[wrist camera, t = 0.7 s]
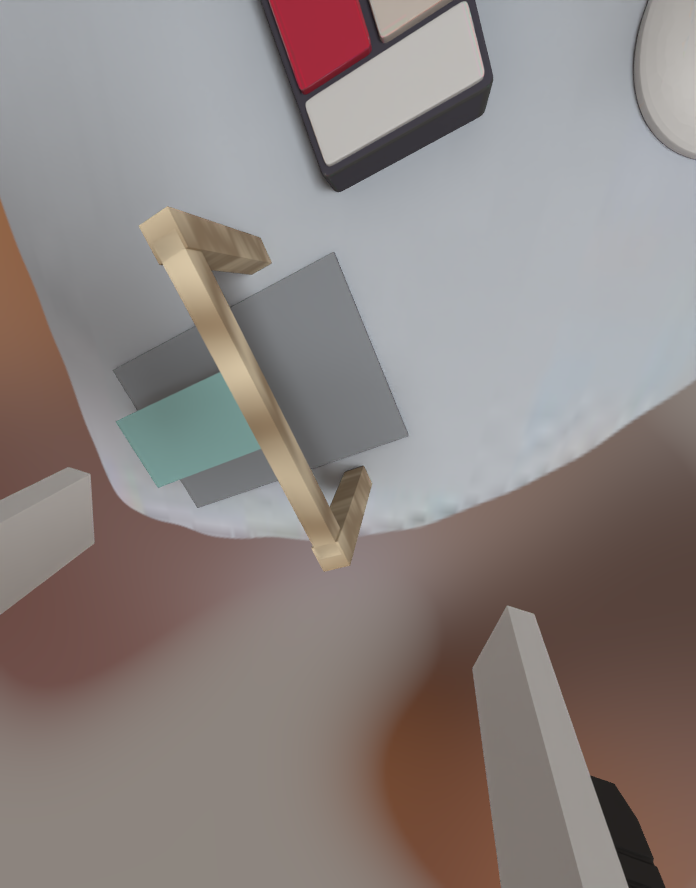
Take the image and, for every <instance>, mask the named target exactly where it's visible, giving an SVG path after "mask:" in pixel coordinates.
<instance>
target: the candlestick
mask: <svg viewBox="0 0 696 888" xmlns="http://www.w3.org/2000/svg"><path fill="white" fill-rule="evenodd" d="M634 83H635V90H636V96H637V101H638V104H639V107H640V110H641V113H642V115H643V118H644V119H645V121H646V123H647V125H648V126H649V128H650V129H651V131H652V132H653V134H654V135H655V136H656V137H657V138H658V139H659V140H660V141H661V142H662V143H663V144H664V145H666V146H667V147H669V148H670V149H672V150H673V151H675V152H677V153H679V154H681V155H683V156H686V157H689V158H692V159H696V0H649V1H648V4H647V6H646V9H645V12H644V15H643V18H642V22H641V25H640V29H639V33H638V37H637V43H636V49H635V59H634Z"/></svg>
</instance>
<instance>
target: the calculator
mask: <svg viewBox="0 0 696 888" xmlns="http://www.w3.org/2000/svg"><path fill="white" fill-rule="evenodd" d="M261 2H262V5H263V8H264V11H265V14H266V17H267V19H268V22H269V25H270V28H271V31H272V34H273V36H274V39H275V42H276V45H277V48H278V51H279V53H280V56H281V59H282V62H283V65H284V68H285V70H286V73H287V76H288V79H289V82H290V85H291V87H292V90H293V93H294V96H295V99H296V102H297V104H298V107H299V110H300V113H301V116H302V118H303V121H304V124H305V127H306V130H307V133H308V135H309V138H310V141H311V144H312V147H313V150H314V152H315V155H316V158H317V161H318V164H319V167H320V169H321V172H322V174H323V176H324V177H325V178H326V180H327V181H328V182H329V184H330V185H331V186H332V188H333V189H334V190H335V191H336V192H341V191H343V190H345V189H347V188H349V187H351V186H353V185H355V184H356V183H358V182H360V181H362V180H364V179H366V178H367V177H369V176H371V175H373V174H375V173H377V172H379V171H380V170H382V169H384V168H386V167H388V166H390V165H392V164H393V163H395V162H397V161H399V160H401V159H403V158H404V157H406V156H408V155H410V154H412V153H414V152H416V151H417V150H419V149H421V148H423V147H425V146H427V145H428V144H430V143H432V142H434V141H436V140H438V139H440V138H441V137H443V136H445V135H447V134H449V133H451V132H452V131H454V130H456V129H458V128H460V127H462V126H464V125H465V124H467V123H469V122H471V121H473V120H475V119H476V118H478V117H480V116H481V115H482V114H483V113H484V111H485V108H486V105H487V101H488V97H489V94H490V90H491V86H492V82H493V74H492V69H491V65H490V61H489V57H488V52H487V48H486V44H485V40H484V36H483V32H482V27H481V23H480V19H479V15H478V11H477V7H476V2H475V0H261Z"/></svg>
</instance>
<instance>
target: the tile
mask: <svg viewBox="0 0 696 888" xmlns="http://www.w3.org/2000/svg"><path fill="white" fill-rule="evenodd" d="M116 423H117V425H118V426H119V428H120V429H121V431H122V432H123V434H124V436H125V437H126V439H127V440H128V442H129V443H130V445H131V446H132V448H133V450H134V451H135V453H136V454H137V456H138V457H139V459H140V461H141V462H142V464H143V465H144V467H145V468H146V470H147V471H148V473H149V475H150V476H151V478H152V479H153V481H154V482H155V484H156V486H157V487H158V488H159V487H162V486H164V485H167V484H169V483H172V482H175V481H177V480H180V479H183V478H185V477H188V476H191V475H193V474H196V473H199V472H201V471H204V470H206V469H209V468H212V467H214V466H217V465H220V464H222V463H225V462H228V461H230V460H233V459H236V458H238V457H241V456H243V455H246V454H249V453H251V452H254V451H257V450H259V449H261V447H260V445H259V444H258V442H257V440H256V438H255V436H254V434H253V432H252V430H251V429H250V427H249V425H248V423H247V421H246V419H245V417H244V415H243V414H242V412H241V410H240V408H239V406H238V404H237V402H236V400H235V399H234V397H233V395H232V393H231V391H230V389H229V387H228V385H227V384H226V382H225V380H224V378H223V376H222V374H221V372H219V373H217V374H215V375H213V376H211V377H208V378H206V379H204V380H202V381H200V382H198V383H196V384H194V385H192V386H189V387H187V388H185V389H183V390H181V391H179V392H177V393H175V394H173V395H170V396H168V397H166V398H164V399H162V400H160V401H158V402H156V403H154V404H151V405H149V406H147V407H145V408H143V409H141V410H139V411H137V412H135V413H132V414H130V415H128V416H126V417H124V418H122V419H120V420H118V421H116Z"/></svg>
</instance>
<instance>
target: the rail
mask: <svg viewBox="0 0 696 888" xmlns="http://www.w3.org/2000/svg"><path fill="white" fill-rule="evenodd" d="M139 227H140V229H141V231H142V233H143V235H144V237H145V239H146V241H147V242H148V244H149V246H150V248H151V250H152V252H153V254H154V255H155V257H156V259H157V261H158V263H159V265H164V267H165V269H166V271H167V273H168V275H169V277H170V278H171V280H172V282H173V284H174V286H175V288H176V290H177V292H178V293H179V295H180V297H181V299H182V301H183V303H184V305H185V307H186V309H187V310H188V312H189V314H190V316H191V318H192V320H193V322H194V324H195V325H196V327H197V329H198V331H199V333H200V335H201V337H202V339H203V340H204V342H205V344H206V346H207V348H208V350H209V352H210V354H211V355H212V357H213V359H214V361H215V363H216V365H217V367H218V369H219V370H220V372H221V374H222V376H223V378H224V380H225V382H226V384H227V385H228V387H229V389H230V391H231V393H232V395H233V397H234V399H235V400H236V402H237V404H238V406H239V408H240V410H241V412H242V414H243V415H244V417H245V419H246V421H247V423H248V425H249V427H250V429H251V430H252V432H253V434H254V436H255V438H256V440H257V442H258V444H259V445H260V447H261V449H262V451H263V453H264V455H265V457H266V459H267V460H268V462H269V464H270V466H271V468H272V470H273V472H274V474H275V475H276V477H277V479H278V481H279V483H280V485H281V487H282V489H283V490H284V492H285V494H286V496H287V498H288V500H289V502H290V504H291V506H292V507H293V509H294V511H295V513H296V515H297V517H298V519H299V521H300V522H301V524H302V526H303V528H304V530H305V532H306V534H307V536H308V537H309V539H310V541H311V543H312V545H313V547H312V550H313V552H314V554H315V556H316V558H317V560H318V562H319V563H320V565H321V567H322V569H323V571H324V572H325V571H329V570H333V569H337V568H342V567H346V566H350V564H351V560H352V557H353V553H354V549H355V545H356V542H357V538H358V534H359V530H360V527H361V523H362V519H363V516H364V512H365V508H366V504H367V501H368V497H369V493H370V489H371V486H372V483H371V480H370V478H369V476H368V474H367V472H366V469H365V467H364V466H362V467H359V468H356V469H353V470H350V471H347V472H345V473H344V475H343V478H342V480H341V482H340V484H339V487H338V489H337V491H336V494H335V496H334V498H333V500H332V503H331V505H330V507H329V505H328V503H327V501H326V499H325V497H324V495H323V493H322V491H321V489H320V487H319V485H318V483H317V481H316V479H315V477H314V475H313V473H312V471H311V469H310V467H309V465H308V463H307V461H306V459H305V457H304V455H303V453H302V451H301V449H300V447H299V445H298V443H297V441H296V439H295V437H294V435H293V433H292V431H291V429H290V427H289V425H288V423H287V421H286V419H285V417H284V415H283V413H282V411H281V409H280V407H279V405H278V403H277V401H276V399H275V397H274V395H273V393H272V391H271V389H270V387H269V385H268V383H267V381H266V379H265V377H264V375H263V373H262V371H261V369H260V367H259V365H258V363H257V361H256V359H255V357H254V355H253V353H252V351H251V349H250V347H249V345H248V343H247V341H246V339H245V337H244V335H243V333H242V331H241V329H240V327H239V325H238V323H237V321H236V319H235V317H234V315H233V313H232V311H231V309H230V307H229V305H228V303H227V301H226V299H225V297H224V295H223V293H222V291H221V289H220V287H219V285H218V283H217V281H216V279H215V277H214V275H213V273H212V271H211V270H214V271H223V272H233V273H242V274H251V275H252V274H253V273H255V272H257V271H259V270H261V269H262V268H264V267H266V266H268V265H270V264H271V263H272V262H271V260H270V258H269V256H268V254H267V251H266V249H265V247H264V245H263V243H262V240H261V238H259V237H256V236H254V235H251V234H248V233H245V232H242V231H239V230H236V229H233V228H230V227H227V226H224V225H221V224H218V223H215V222H212V221H209V220H206V219H204V218H201V217H198V216H195V215H192V214H189V213H186V212H183V211H180V210H177V209H174V208H171V207H168V206H167V207H166V208H164V209H163V210H161V211H160V212H158V213H157V214H155V215H154V216H152V217H151V218H150V219H148V220H147V221H145V222H144V223H142V224H141V225H139Z"/></svg>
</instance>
